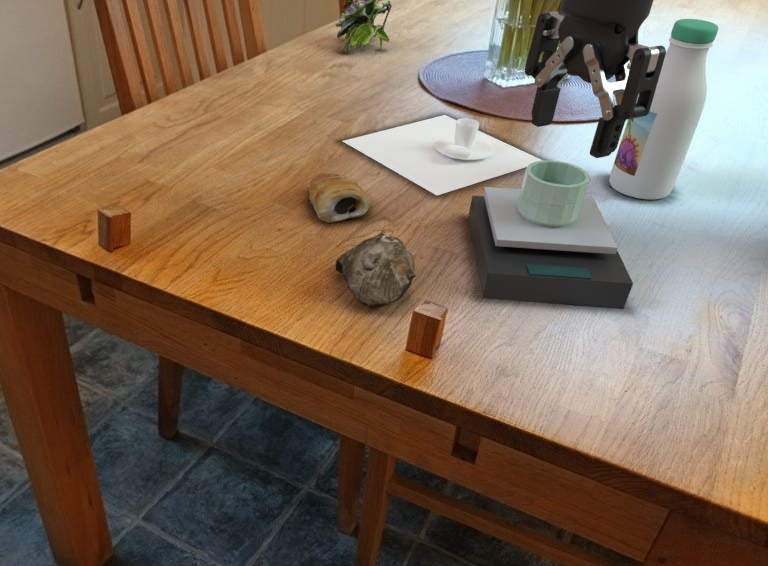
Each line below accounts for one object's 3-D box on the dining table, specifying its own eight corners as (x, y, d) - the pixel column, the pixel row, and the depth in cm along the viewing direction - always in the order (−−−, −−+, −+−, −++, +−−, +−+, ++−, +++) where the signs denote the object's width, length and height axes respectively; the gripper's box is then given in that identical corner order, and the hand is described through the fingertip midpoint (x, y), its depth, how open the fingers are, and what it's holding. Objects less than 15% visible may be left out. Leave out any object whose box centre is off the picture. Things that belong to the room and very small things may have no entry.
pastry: (297, 190, 91) (298, 162, 88) (347, 185, 92) (349, 157, 90) (320, 226, 84) (322, 195, 81) (374, 219, 85) (378, 189, 83)
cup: (570, 203, 79) (582, 162, 76) (582, 231, 75) (595, 188, 72) (512, 199, 80) (522, 158, 77) (520, 227, 75) (531, 184, 72)
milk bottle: (672, 181, 95) (734, 19, 82) (669, 206, 89) (736, 36, 77) (610, 170, 97) (662, 10, 84) (604, 193, 92) (658, 26, 79)
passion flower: (347, 70, 144) (360, 9, 144) (396, 69, 139) (409, 7, 138) (320, 47, 135) (333, -18, 134) (371, 45, 129) (385, -22, 128)
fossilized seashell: (431, 296, 68) (415, 257, 77) (400, 239, 66) (388, 205, 74) (360, 331, 70) (353, 289, 79) (328, 277, 68) (324, 240, 76)
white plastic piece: (458, 169, 96) (463, 139, 94) (418, 148, 102) (422, 120, 99) (504, 155, 100) (510, 126, 98) (463, 135, 105) (468, 108, 103)
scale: (587, 226, 85) (598, 190, 82) (623, 308, 72) (638, 269, 69) (467, 218, 86) (474, 182, 83) (482, 298, 73) (491, 259, 70)
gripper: (719, -31, 58) (651, 161, 68) (593, -61, 68) (551, 110, 78) (649, -24, 55) (590, 174, 65) (529, -56, 65) (494, 120, 75)
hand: (569, 139), depth 72 cm, fingers open, 8 cm apart
